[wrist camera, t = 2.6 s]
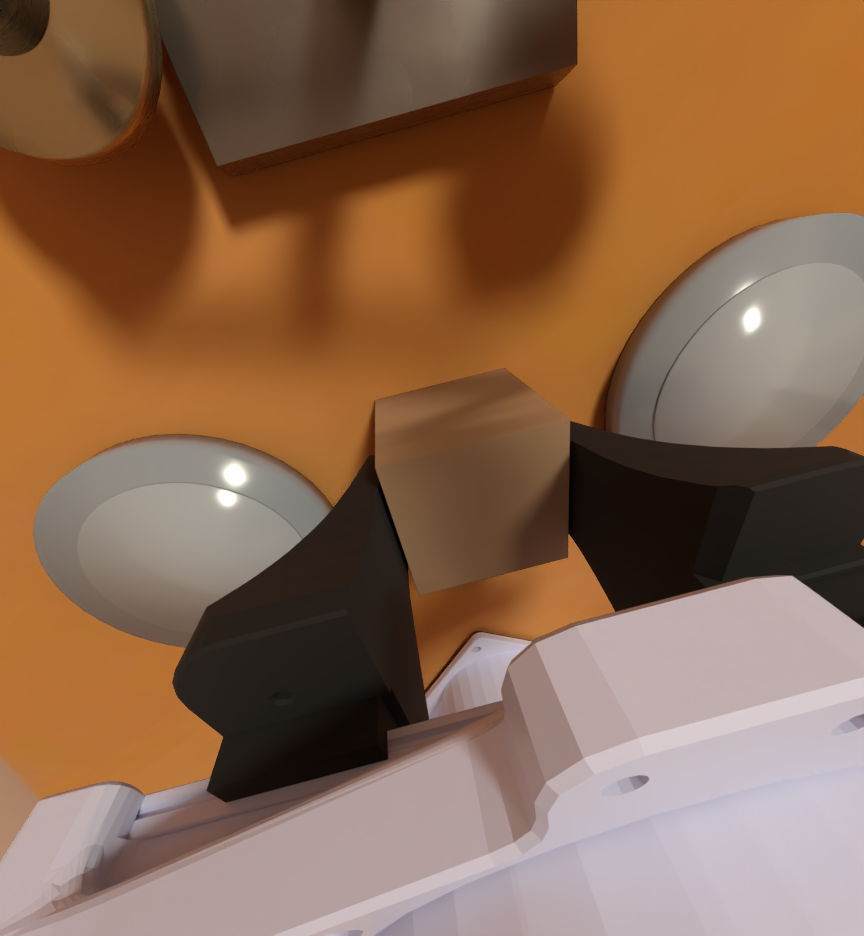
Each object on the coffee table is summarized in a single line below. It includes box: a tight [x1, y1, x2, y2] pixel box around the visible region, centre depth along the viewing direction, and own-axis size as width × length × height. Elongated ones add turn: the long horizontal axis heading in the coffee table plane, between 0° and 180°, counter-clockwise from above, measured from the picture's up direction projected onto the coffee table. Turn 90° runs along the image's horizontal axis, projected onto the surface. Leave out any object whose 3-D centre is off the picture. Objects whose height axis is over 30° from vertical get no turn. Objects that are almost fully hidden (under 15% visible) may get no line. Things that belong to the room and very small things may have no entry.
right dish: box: [605, 213, 864, 448], centre depth 12 cm, size 10×10×1 cm
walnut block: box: [375, 368, 570, 596], centre depth 11 cm, size 4×4×4 cm
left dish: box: [33, 434, 333, 648], centre depth 13 cm, size 10×10×1 cm
